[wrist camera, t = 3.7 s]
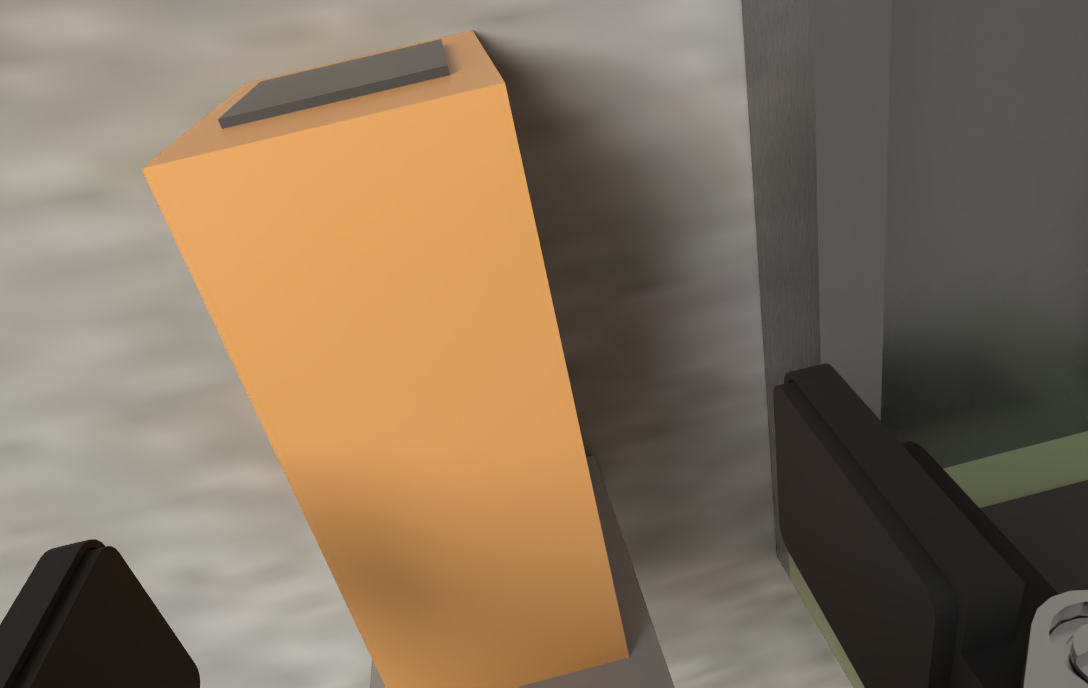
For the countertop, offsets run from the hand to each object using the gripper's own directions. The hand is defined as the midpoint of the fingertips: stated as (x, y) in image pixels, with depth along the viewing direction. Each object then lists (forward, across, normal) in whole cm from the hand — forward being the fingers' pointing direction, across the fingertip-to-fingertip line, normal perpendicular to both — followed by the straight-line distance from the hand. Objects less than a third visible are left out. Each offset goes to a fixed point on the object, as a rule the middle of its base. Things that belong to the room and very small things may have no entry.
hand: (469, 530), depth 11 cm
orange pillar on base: (+9, +1, +1) cm, 9 cm away
